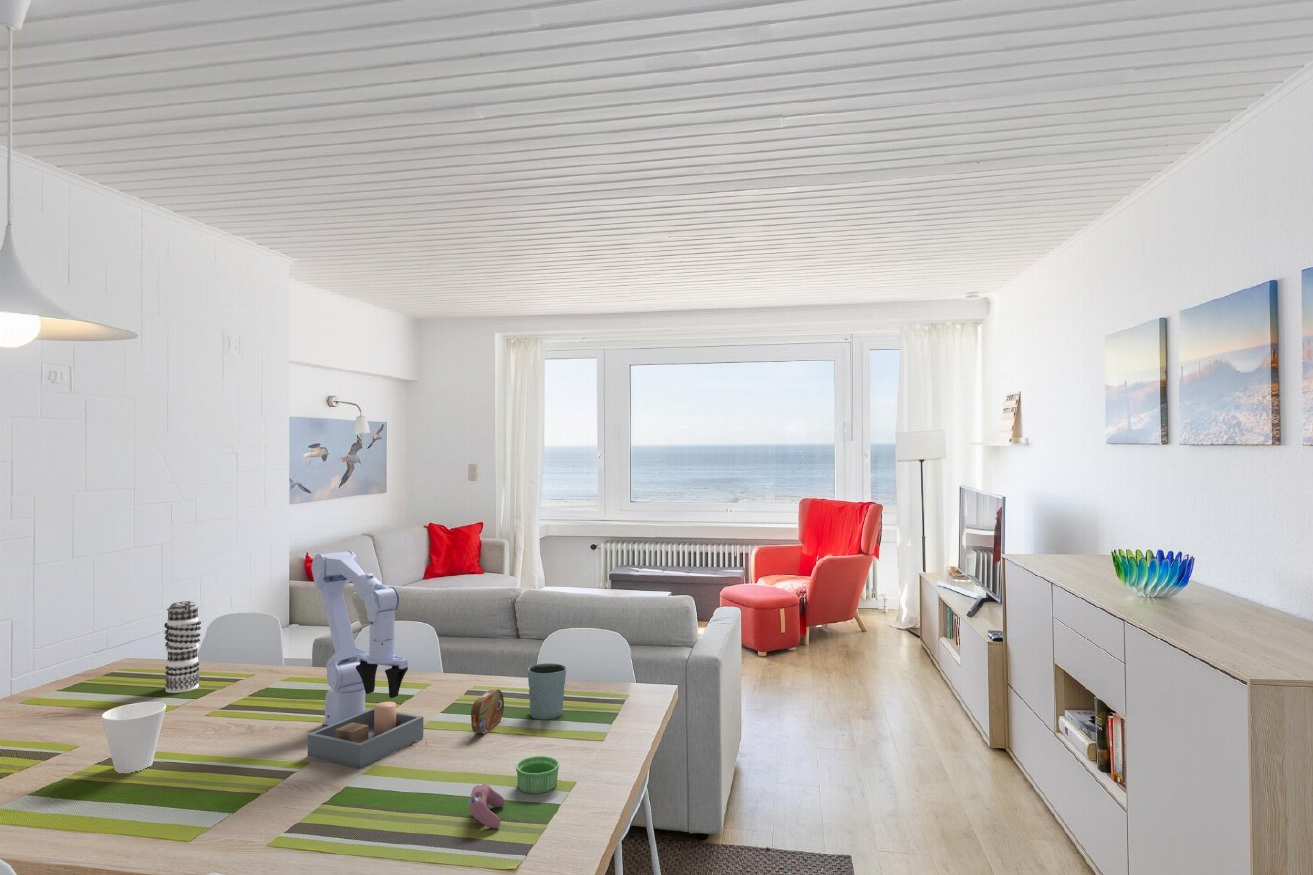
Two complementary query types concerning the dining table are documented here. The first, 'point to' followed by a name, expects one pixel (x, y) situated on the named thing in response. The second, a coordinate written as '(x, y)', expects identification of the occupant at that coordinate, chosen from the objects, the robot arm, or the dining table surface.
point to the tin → (487, 711)
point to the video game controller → (485, 805)
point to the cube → (353, 732)
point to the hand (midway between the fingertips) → (381, 694)
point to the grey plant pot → (546, 690)
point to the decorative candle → (182, 647)
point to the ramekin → (537, 774)
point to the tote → (368, 751)
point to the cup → (133, 734)
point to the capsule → (384, 717)
